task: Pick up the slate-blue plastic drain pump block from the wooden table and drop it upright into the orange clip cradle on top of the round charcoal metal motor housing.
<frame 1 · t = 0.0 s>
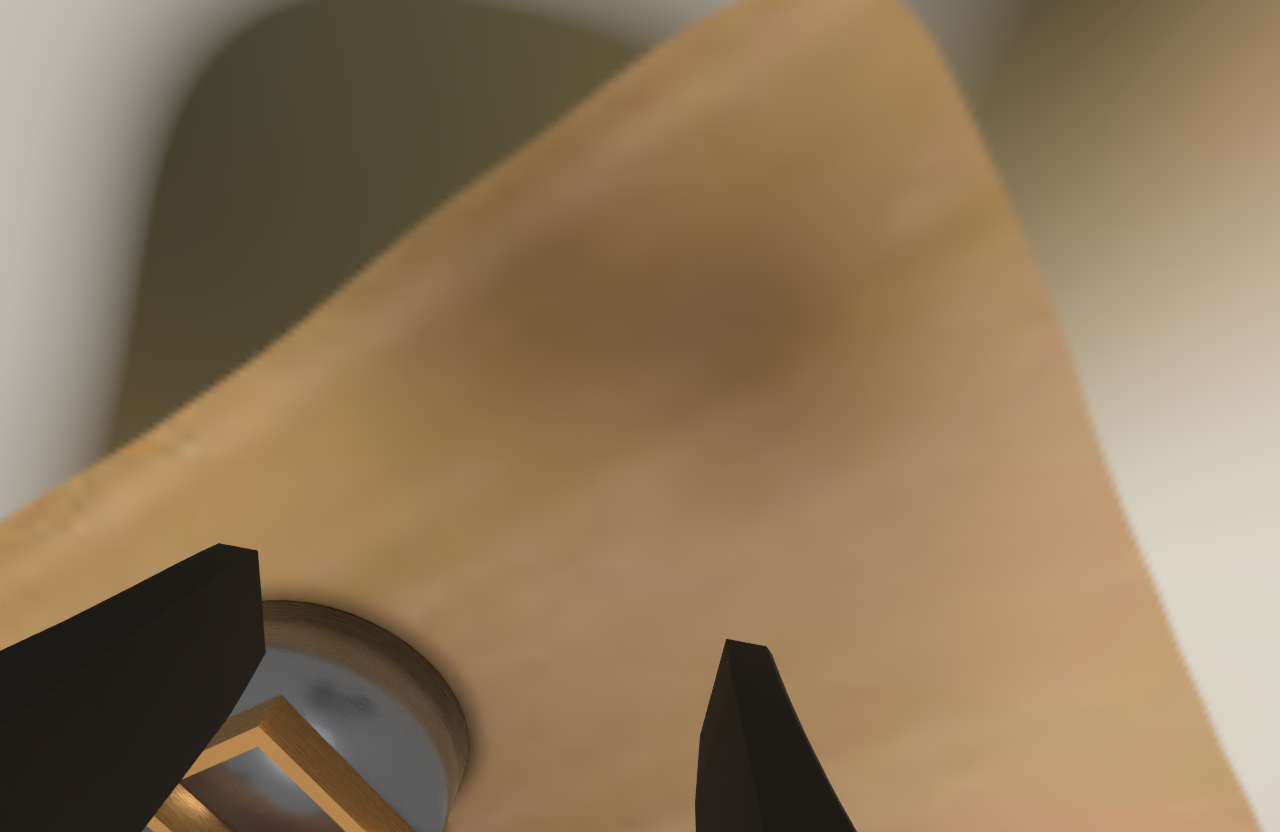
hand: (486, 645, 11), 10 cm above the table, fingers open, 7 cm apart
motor: (319, 723, 27), on the table
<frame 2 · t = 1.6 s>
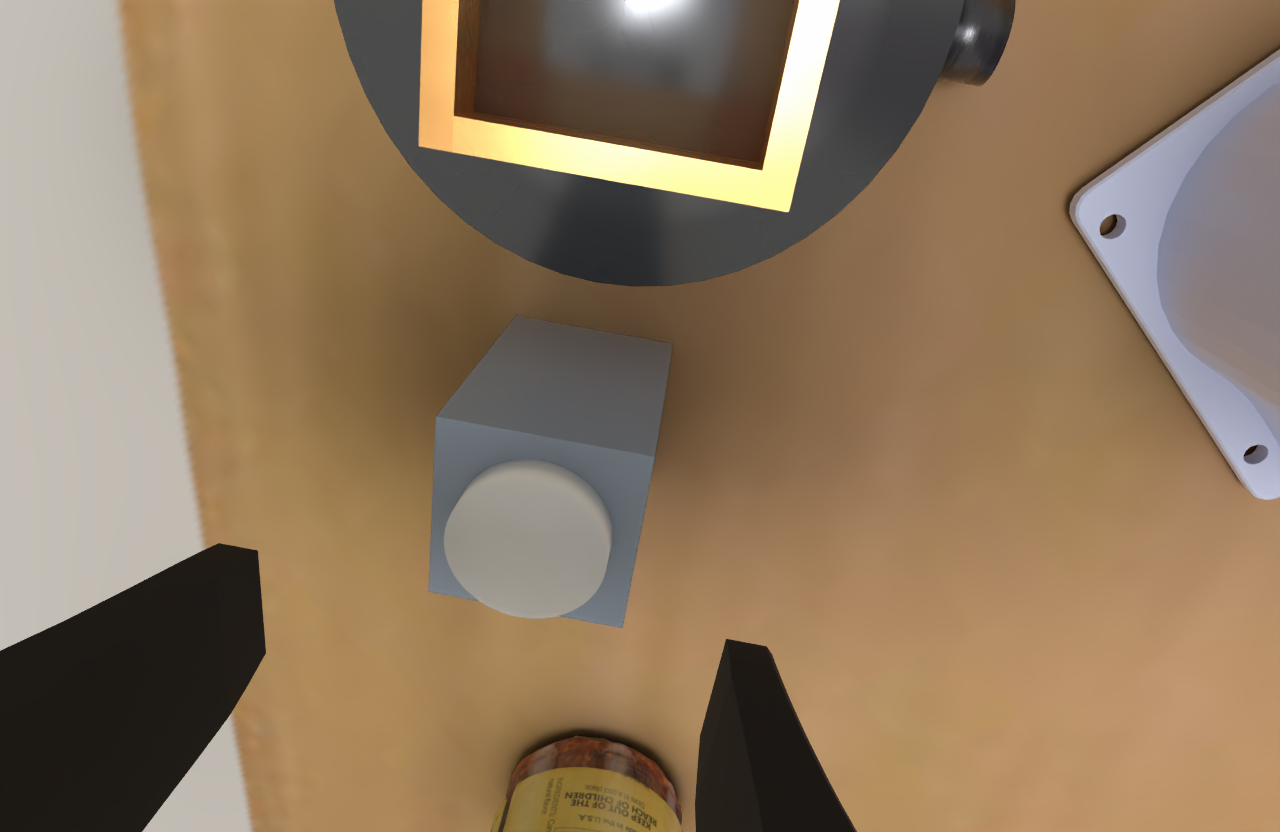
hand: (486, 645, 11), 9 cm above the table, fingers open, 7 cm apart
sauce bottle: (600, 782, 26), on the table
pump: (584, 400, 20), on the table
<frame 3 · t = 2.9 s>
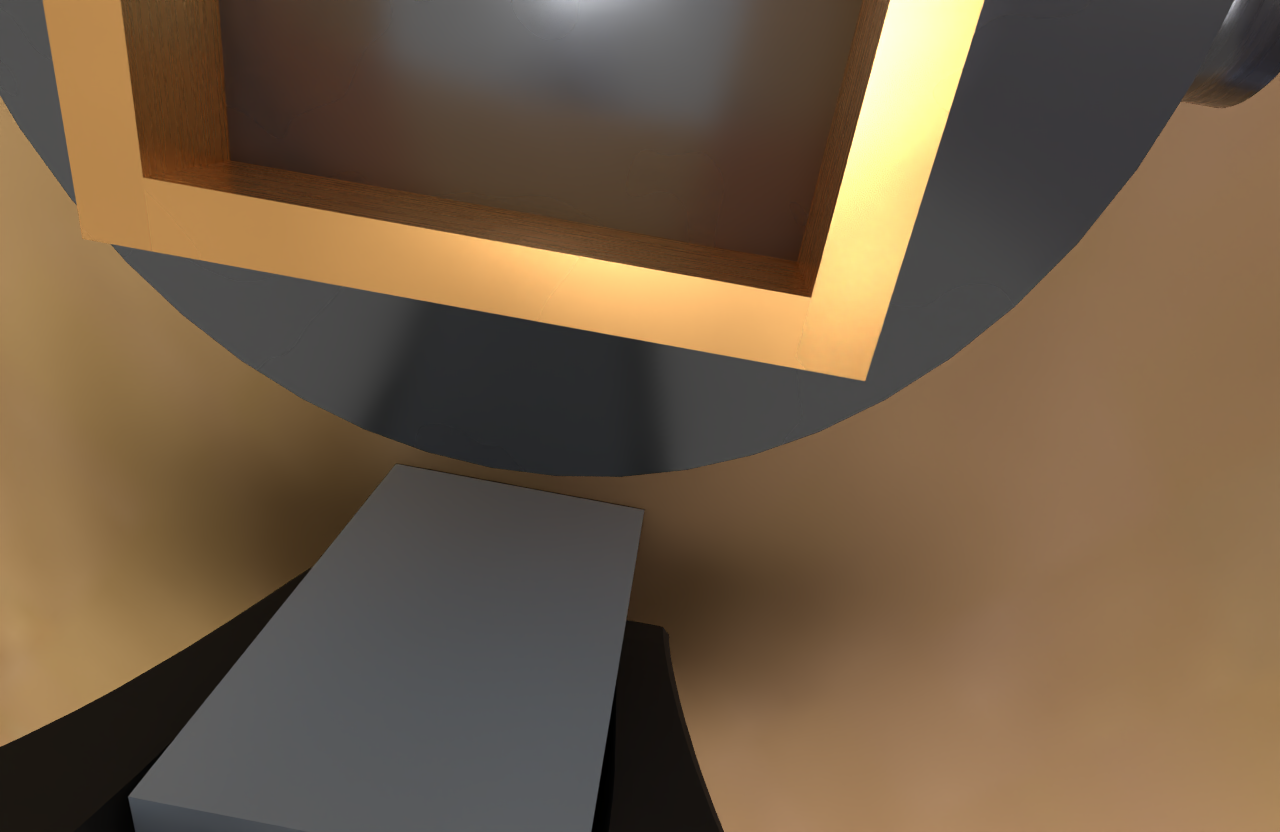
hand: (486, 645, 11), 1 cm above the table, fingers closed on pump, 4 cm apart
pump: (509, 586, 13), on the table, touching gripper
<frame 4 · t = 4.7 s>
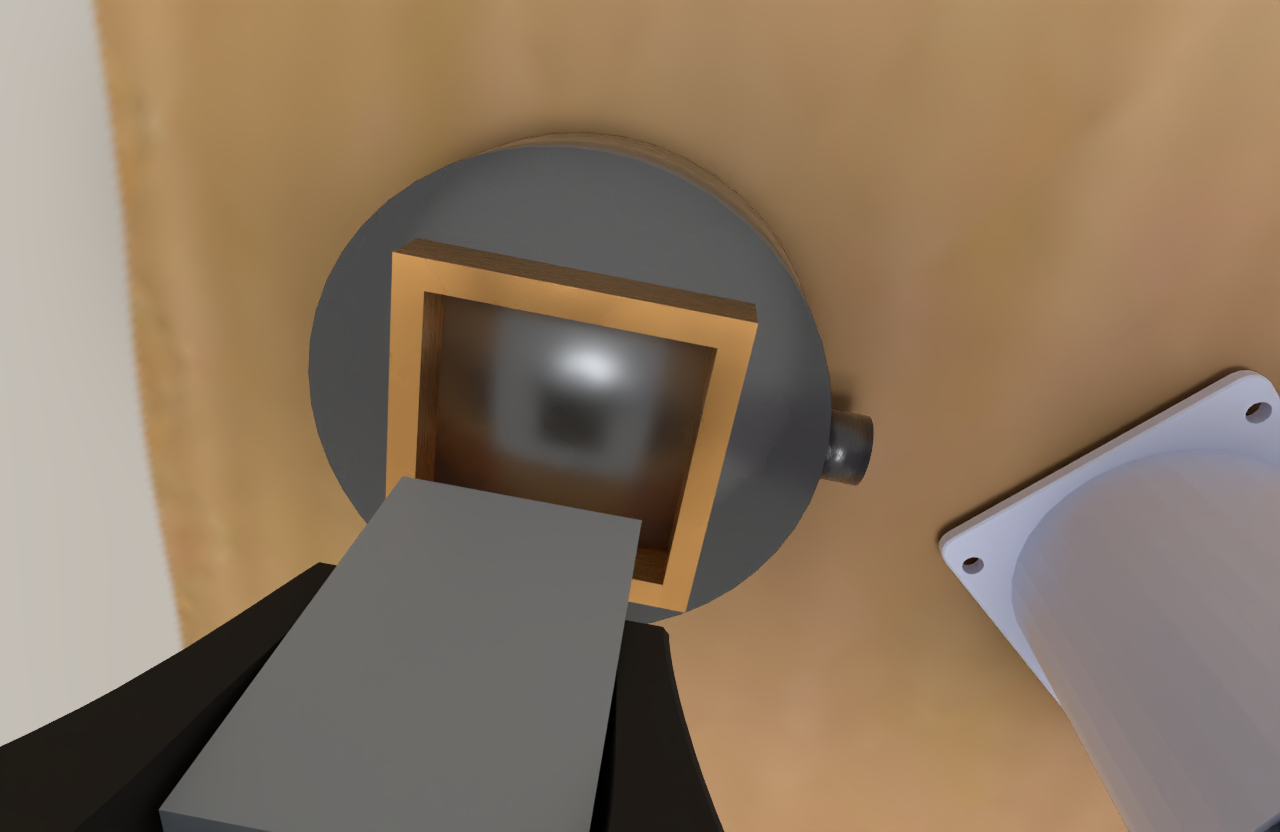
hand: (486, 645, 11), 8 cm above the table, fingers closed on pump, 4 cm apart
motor: (586, 370, 19), on the table
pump: (512, 591, 13), point 7 cm above the table, touching gripper
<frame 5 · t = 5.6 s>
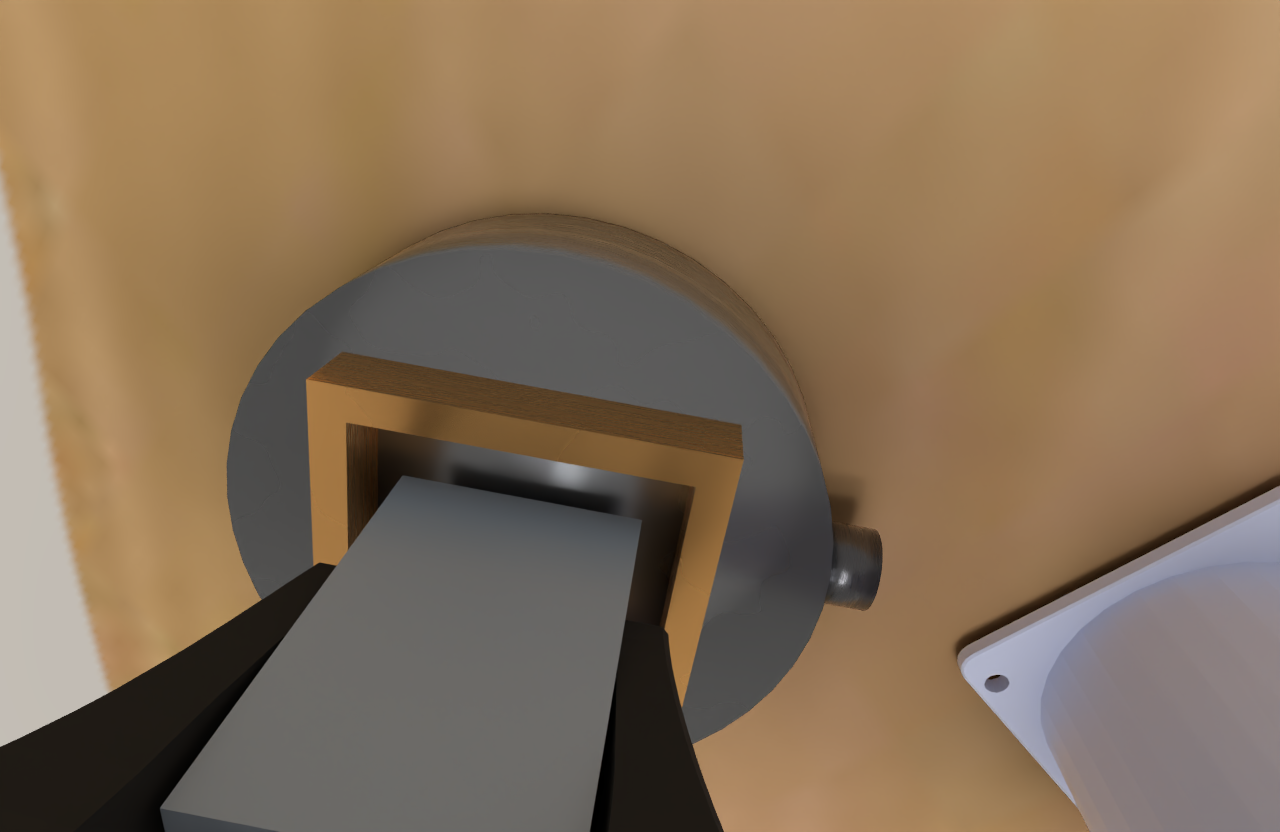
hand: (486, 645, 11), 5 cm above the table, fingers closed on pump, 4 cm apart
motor: (555, 471, 16), on the table
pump: (512, 591, 13), point 4 cm above the table, touching gripper
when the fingers open (5 cm above the table, at t = 6.3 s): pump stays where it is, resting on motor.
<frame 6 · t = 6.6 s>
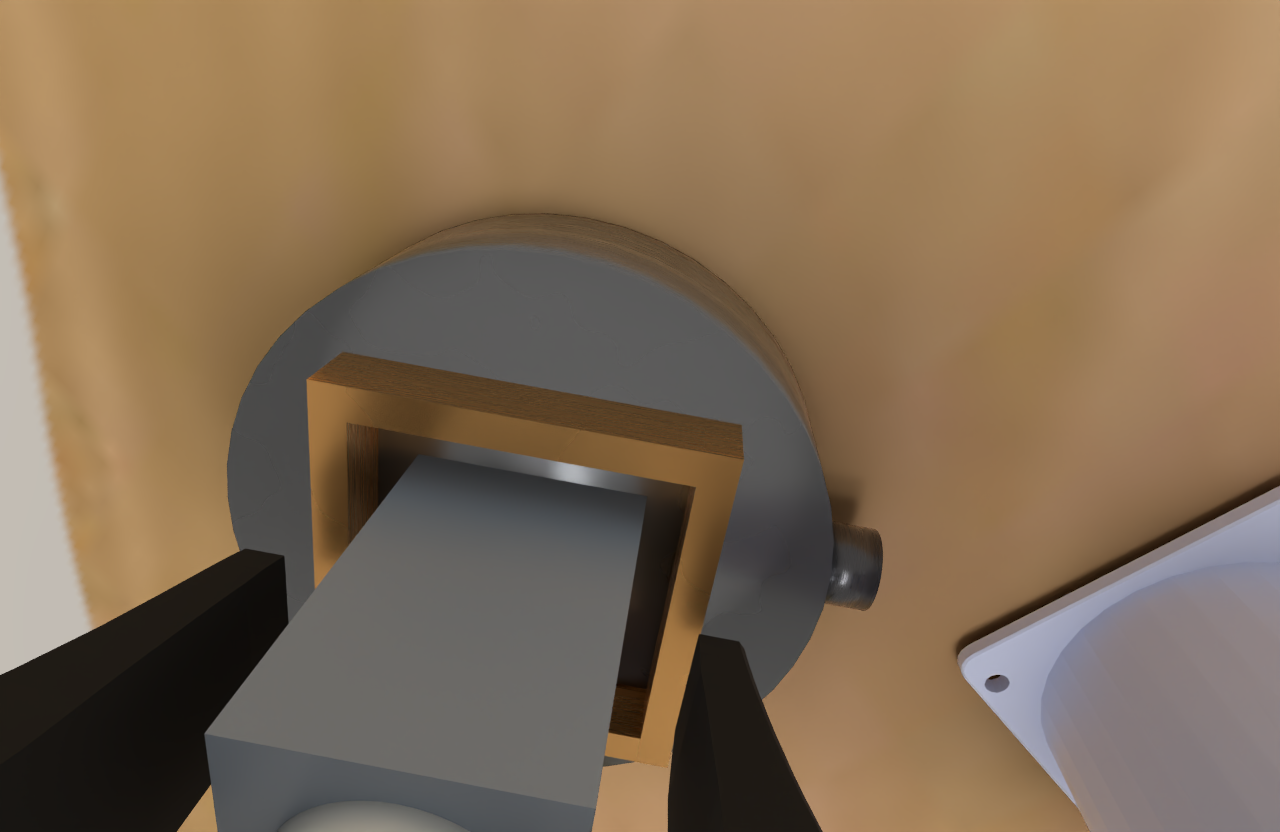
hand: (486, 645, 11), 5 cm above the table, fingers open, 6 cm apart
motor: (555, 471, 16), on the table
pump: (522, 568, 14), point 3 cm above the table, touching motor
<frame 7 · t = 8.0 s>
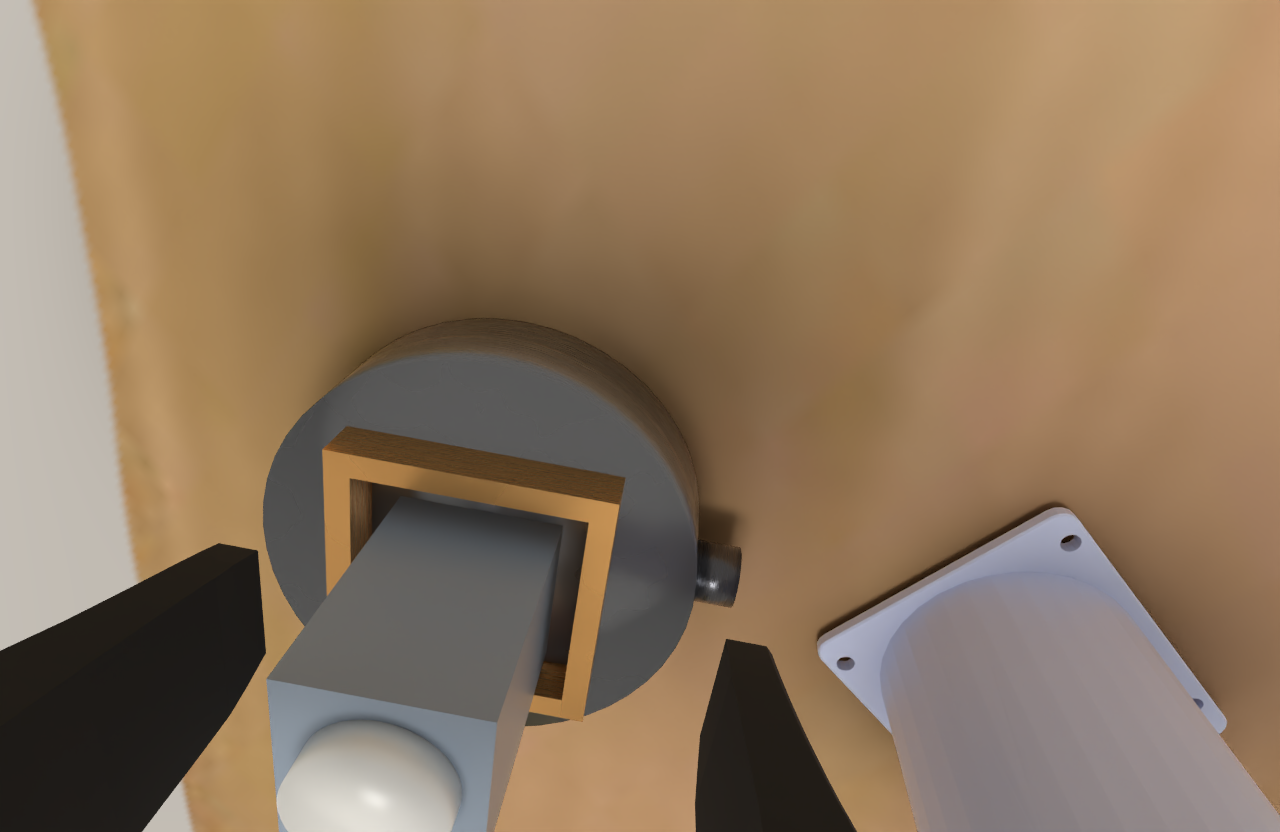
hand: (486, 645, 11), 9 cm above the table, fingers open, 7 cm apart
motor: (507, 502, 22), on the table
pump: (476, 576, 19), point 3 cm above the table, touching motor
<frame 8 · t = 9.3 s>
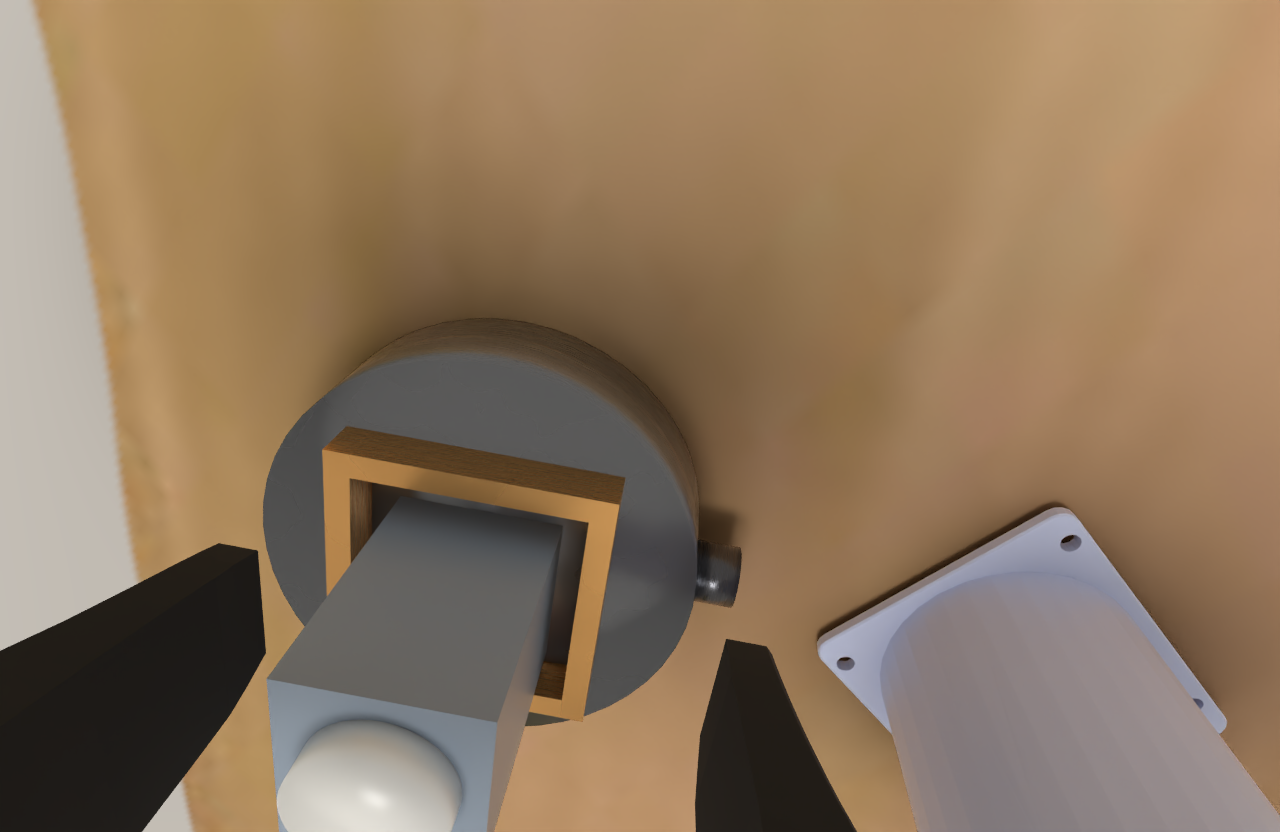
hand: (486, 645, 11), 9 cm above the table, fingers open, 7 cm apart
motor: (507, 502, 22), on the table
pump: (476, 576, 19), point 3 cm above the table, touching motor
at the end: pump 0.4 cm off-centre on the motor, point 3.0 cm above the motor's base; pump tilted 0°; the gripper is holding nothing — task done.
